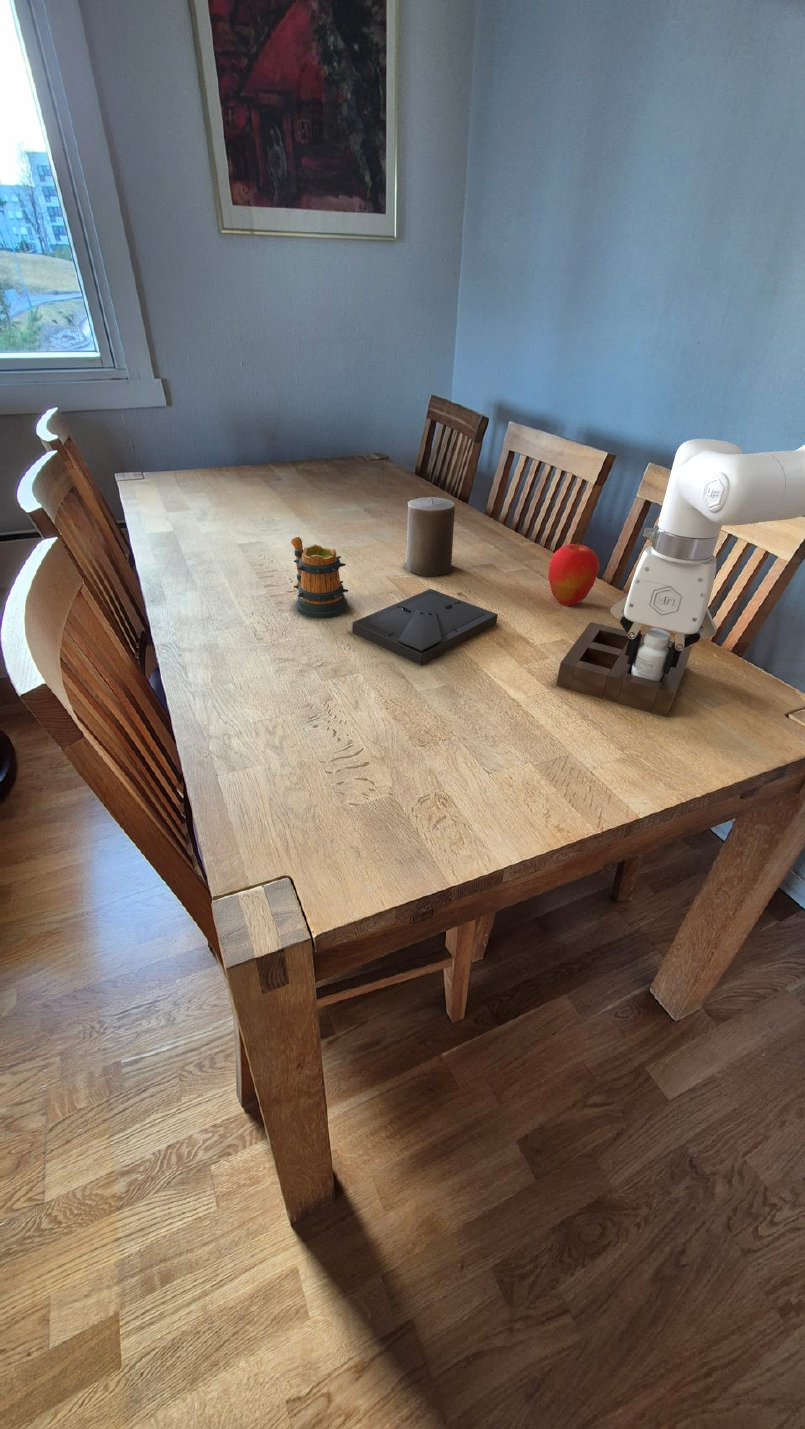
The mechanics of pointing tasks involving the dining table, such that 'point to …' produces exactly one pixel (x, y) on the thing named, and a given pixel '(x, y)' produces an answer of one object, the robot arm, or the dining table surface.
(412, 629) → the picture frame
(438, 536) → the pillar candle
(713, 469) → the robot arm
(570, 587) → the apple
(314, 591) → the mug
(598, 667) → the grid rack
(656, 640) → the pill bottle
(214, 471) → the dining table surface
